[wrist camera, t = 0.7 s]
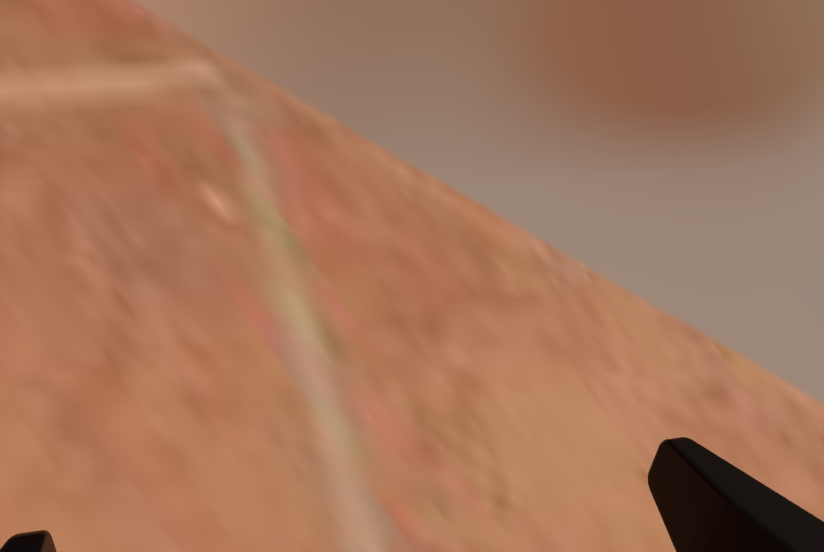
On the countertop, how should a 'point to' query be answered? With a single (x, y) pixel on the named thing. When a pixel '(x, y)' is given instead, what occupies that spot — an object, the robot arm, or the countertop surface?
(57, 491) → the countertop surface
